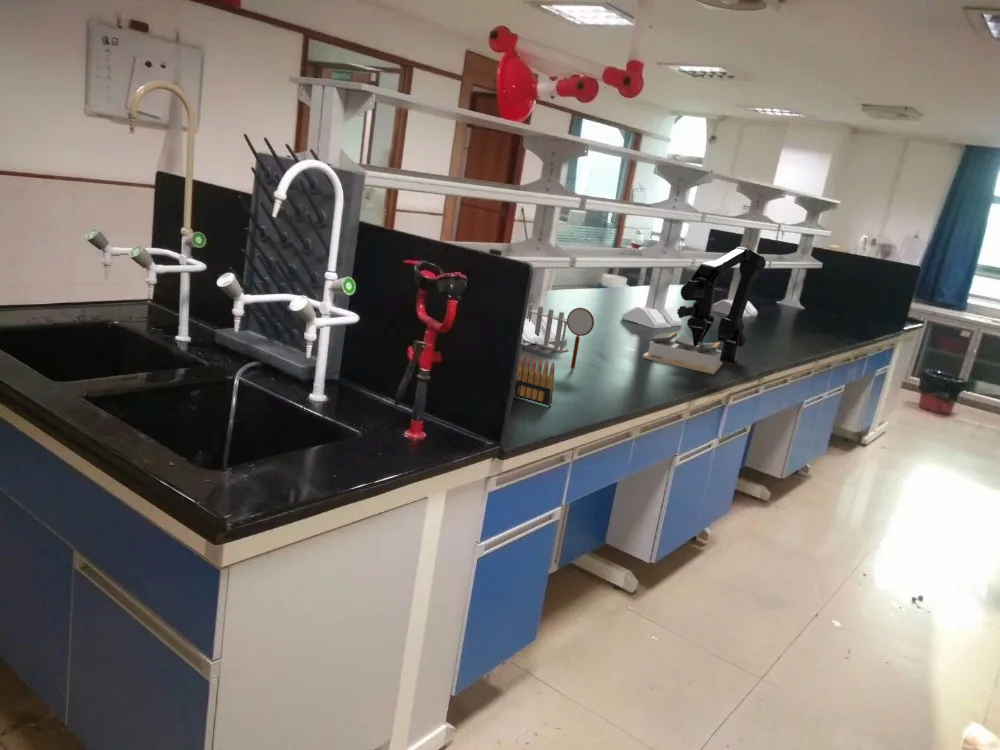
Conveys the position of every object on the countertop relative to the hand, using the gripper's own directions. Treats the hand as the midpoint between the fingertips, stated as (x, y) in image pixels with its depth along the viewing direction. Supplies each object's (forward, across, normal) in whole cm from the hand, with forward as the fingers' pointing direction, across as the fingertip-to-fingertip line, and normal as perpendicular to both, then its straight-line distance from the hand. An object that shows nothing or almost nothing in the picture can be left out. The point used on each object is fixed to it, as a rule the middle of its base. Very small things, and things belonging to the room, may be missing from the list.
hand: (697, 343), depth 263 cm
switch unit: (+7, +1, -4) cm, 8 cm away
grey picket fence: (+5, +25, -51) cm, 57 cm away
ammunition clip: (+7, +90, -26) cm, 94 cm away
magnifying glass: (+6, +50, -28) cm, 58 cm away
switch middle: (0, 0, -4) cm, 4 cm away
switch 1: (0, 0, -12) cm, 12 cm away
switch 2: (+1, 0, +4) cm, 4 cm away
